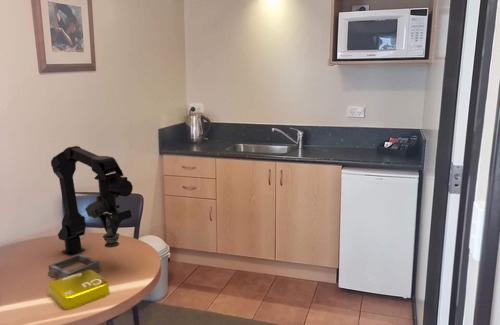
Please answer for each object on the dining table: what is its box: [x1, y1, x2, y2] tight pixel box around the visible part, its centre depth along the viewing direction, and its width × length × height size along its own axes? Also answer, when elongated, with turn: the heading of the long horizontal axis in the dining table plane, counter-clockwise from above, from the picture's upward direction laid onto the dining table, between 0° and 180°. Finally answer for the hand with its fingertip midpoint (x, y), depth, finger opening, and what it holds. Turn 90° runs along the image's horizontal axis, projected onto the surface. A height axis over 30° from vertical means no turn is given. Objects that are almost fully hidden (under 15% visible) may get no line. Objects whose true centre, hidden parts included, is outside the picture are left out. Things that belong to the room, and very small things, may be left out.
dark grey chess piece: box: [102, 214, 120, 248], centre depth 162 cm, size 6×6×12 cm
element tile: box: [48, 270, 110, 311], centre depth 145 cm, size 15×15×5 cm
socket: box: [47, 253, 102, 280], centre depth 159 cm, size 13×13×4 cm
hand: (111, 233), depth 163 cm, fingers closed on dark grey chess piece, 3 cm apart
